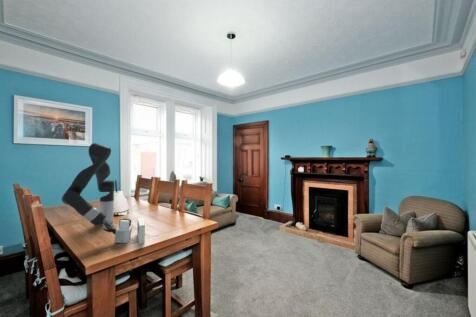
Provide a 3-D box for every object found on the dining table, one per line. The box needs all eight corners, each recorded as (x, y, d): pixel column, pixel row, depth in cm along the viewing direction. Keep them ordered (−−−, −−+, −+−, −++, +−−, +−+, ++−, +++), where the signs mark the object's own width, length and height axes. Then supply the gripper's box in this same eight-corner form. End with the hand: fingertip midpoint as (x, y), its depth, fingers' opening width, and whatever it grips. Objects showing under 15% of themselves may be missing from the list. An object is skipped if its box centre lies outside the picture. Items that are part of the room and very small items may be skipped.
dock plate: (139, 243, 129) (139, 225, 128) (137, 233, 144) (137, 217, 144) (144, 242, 130) (144, 225, 130) (142, 233, 146) (142, 217, 146)
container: (117, 237, 135) (120, 217, 135) (130, 238, 137) (133, 218, 137) (113, 242, 127) (117, 221, 127) (128, 242, 129) (131, 221, 130)
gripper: (98, 214, 120) (122, 232, 126) (101, 208, 132) (123, 225, 138) (87, 224, 118) (112, 242, 124) (90, 218, 130) (113, 235, 135)
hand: (117, 233), depth 131 cm, fingers closed
